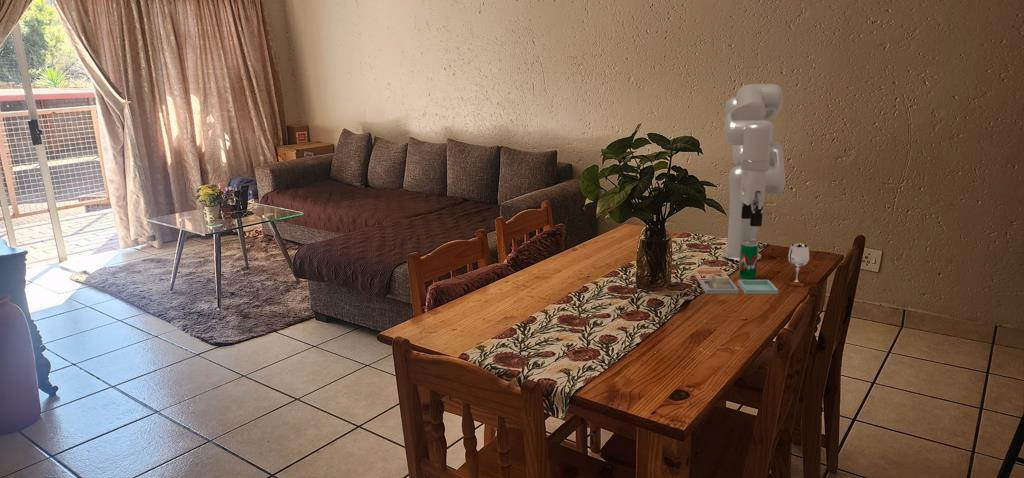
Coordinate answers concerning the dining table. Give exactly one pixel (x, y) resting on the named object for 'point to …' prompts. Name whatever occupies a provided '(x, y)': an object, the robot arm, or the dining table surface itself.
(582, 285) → the dining table surface
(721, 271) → the tray terracotta
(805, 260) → the wineglass
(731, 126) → the robot arm
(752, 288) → the tray teal
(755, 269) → the soda can
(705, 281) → the tray slate
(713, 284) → the letter cube
